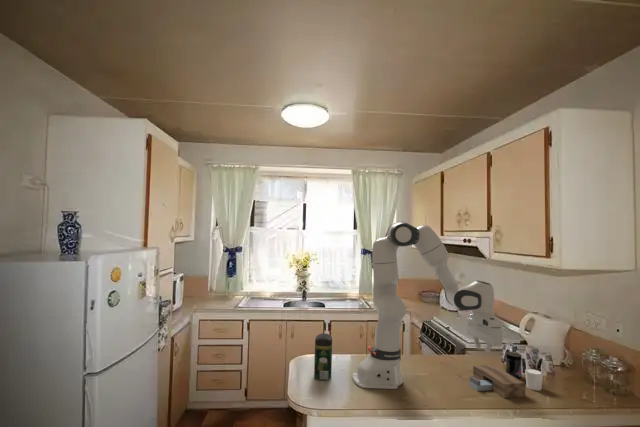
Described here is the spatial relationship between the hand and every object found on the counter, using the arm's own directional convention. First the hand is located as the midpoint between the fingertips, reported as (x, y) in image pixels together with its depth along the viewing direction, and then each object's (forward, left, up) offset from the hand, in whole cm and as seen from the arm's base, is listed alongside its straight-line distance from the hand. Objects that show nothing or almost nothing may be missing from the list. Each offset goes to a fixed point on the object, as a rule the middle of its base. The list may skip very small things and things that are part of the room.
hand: (482, 349), depth 154 cm
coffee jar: (-67, +20, -16) cm, 72 cm away
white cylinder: (+24, -3, -16) cm, 29 cm away
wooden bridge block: (+8, 0, -16) cm, 18 cm away
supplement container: (+24, +9, -16) cm, 30 cm away
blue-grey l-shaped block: (+2, 0, -17) cm, 17 cm away
